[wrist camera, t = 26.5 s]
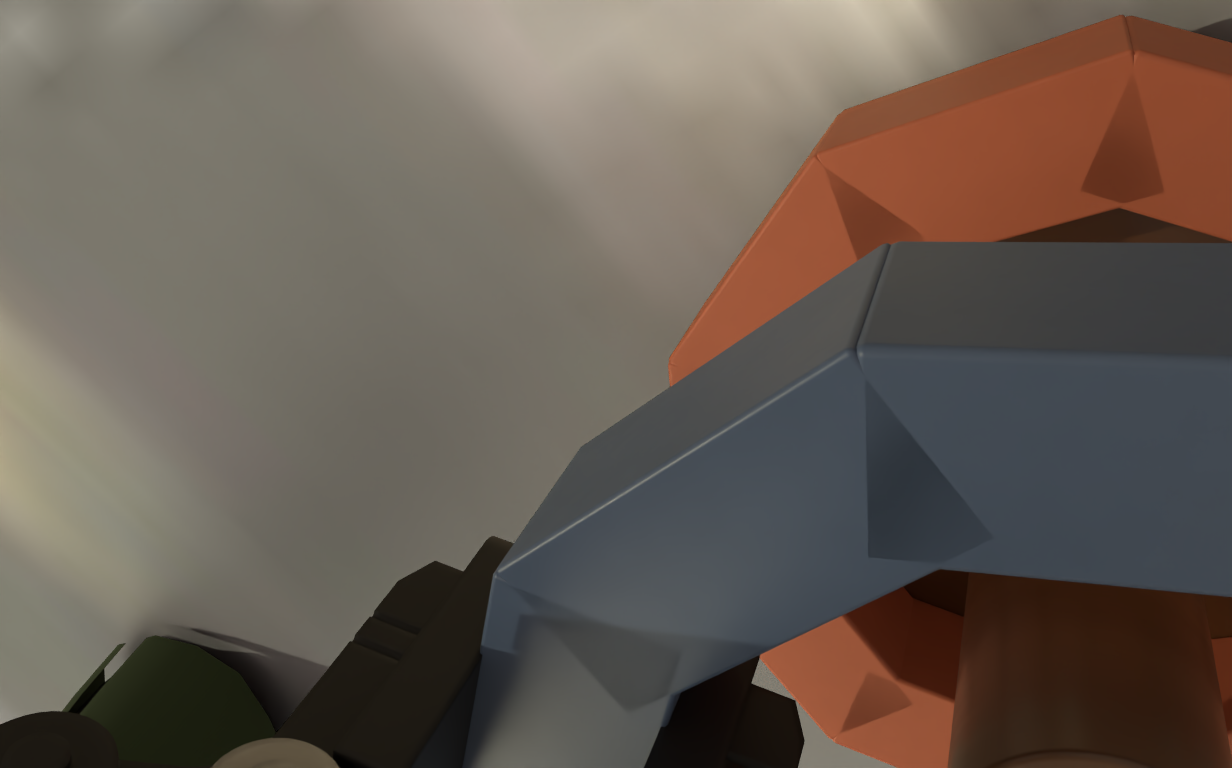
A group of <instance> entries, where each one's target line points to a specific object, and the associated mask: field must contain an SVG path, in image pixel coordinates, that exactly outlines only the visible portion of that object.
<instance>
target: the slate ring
mask: <svg viewBox="0 0 1232 768" xmlns="http://www.w3.org/2000/svg"><path fill="white" fill-rule="evenodd" d="M939 569H944V570H954V571H964V572H975V573H985V574H996V575H1006V576H1016V577H1027V578H1037V579H1047V580H1058V581H1068V582H1079V583H1089V584H1099V585H1110V586H1120V587H1130V588H1141V589H1151V590H1162V591H1172V592H1182V593H1193V594H1203V595H1213V596H1224V597H1232V243H1095V242H905V241H899V242H896V243H894V244H891V245H890V244H889V243H886V244H882V245H880V246H879V247H877V248H876V249H875V250H873V251H872V252H870V253H869V254H867V255H866V256H864V257H863V258H861V259H860V260H858V261H857V262H855V263H854V264H852V265H851V266H849V267H848V268H846V269H845V270H843V271H842V272H840V273H839V274H837V275H836V276H834V277H833V278H831V279H830V280H828V281H827V282H825V283H824V284H823V285H821V286H820V287H818V288H817V289H815V290H814V291H812V292H811V293H809V294H808V295H806V296H805V297H803V298H802V299H800V300H799V301H797V302H796V303H794V304H793V305H791V306H790V307H788V308H787V309H785V310H784V311H782V312H781V313H779V314H778V315H776V316H775V317H773V318H772V319H771V320H769V321H768V322H766V323H765V324H763V325H762V326H760V327H759V328H757V329H756V330H754V331H753V332H751V333H750V334H748V335H747V336H745V337H744V338H742V339H741V340H739V341H738V342H736V343H735V344H733V345H732V346H730V347H729V348H727V349H726V350H724V351H723V352H722V353H720V354H719V355H717V356H716V357H714V358H713V359H711V360H710V361H708V362H707V363H705V364H704V365H702V366H701V367H699V368H698V369H696V370H695V371H693V372H692V373H690V374H689V375H687V376H686V377H684V378H683V379H681V380H680V381H678V382H677V383H675V384H674V385H672V386H671V387H670V388H668V389H667V390H665V391H664V392H662V393H661V394H659V395H658V396H656V397H655V398H653V399H652V400H650V401H649V402H647V403H646V404H644V405H643V406H641V407H640V408H638V409H637V410H635V411H634V412H632V413H631V414H629V415H628V416H626V417H625V418H623V419H622V420H620V421H619V422H618V423H616V424H615V425H613V426H612V427H610V428H609V429H607V430H606V431H604V432H603V433H601V434H600V435H598V436H597V437H595V438H594V439H592V440H591V441H589V442H588V443H586V444H585V445H583V446H582V447H581V448H580V449H579V451H578V452H577V454H576V455H575V456H574V458H573V459H572V461H571V462H570V464H569V465H568V467H567V468H566V469H565V471H564V472H563V474H562V475H561V477H560V478H559V479H558V481H557V482H556V484H555V485H554V487H553V488H552V490H551V491H550V492H549V494H548V495H547V497H546V498H545V500H544V501H543V503H542V504H541V505H540V507H539V508H538V510H537V511H536V513H535V514H534V515H533V517H532V518H531V520H530V521H529V523H528V524H527V526H526V527H525V528H524V530H523V531H522V533H521V534H520V536H519V537H518V539H517V540H516V541H515V543H514V544H513V546H512V547H511V549H510V550H509V551H508V553H507V554H506V556H505V557H504V559H503V560H502V562H501V563H500V564H499V566H498V568H497V569H496V570H495V572H494V573H493V578H492V584H491V590H490V595H489V601H488V607H487V612H486V618H485V624H484V630H483V635H482V641H481V647H480V654H482V660H481V665H480V671H479V676H478V682H477V688H476V693H475V699H474V704H473V710H472V716H471V721H470V727H469V732H468V738H467V744H466V749H465V755H464V760H463V766H462V768H644V767H645V764H646V762H647V759H648V757H649V754H650V752H651V749H652V747H653V745H654V742H655V740H656V737H657V735H658V732H659V730H660V728H661V727H665V726H667V725H668V723H669V721H670V718H671V716H672V713H673V711H674V708H675V706H676V704H677V701H678V699H679V696H680V694H681V692H683V691H685V690H687V689H689V688H691V687H694V686H696V685H698V684H700V683H702V682H704V681H706V680H708V679H710V678H712V677H715V676H717V675H719V674H721V673H723V672H725V671H727V670H729V669H731V668H733V667H735V666H738V665H740V664H742V663H744V662H746V661H748V660H750V659H752V658H754V657H756V656H759V655H761V654H763V653H765V652H767V651H769V650H771V649H773V648H775V647H777V646H779V645H782V644H784V643H786V642H788V641H790V640H792V639H794V638H796V637H798V636H800V635H803V634H805V633H807V632H809V631H811V630H813V629H815V628H817V627H819V626H821V625H823V624H826V623H828V622H830V621H832V620H834V619H836V618H838V617H840V616H842V615H844V614H847V613H849V612H851V611H853V610H855V609H857V608H859V607H861V606H863V605H865V604H867V603H870V602H872V601H874V600H876V599H878V598H880V597H882V596H884V595H886V594H888V593H891V592H893V591H895V590H897V589H899V588H901V587H903V586H905V585H907V584H909V583H911V582H914V581H916V580H918V579H920V578H922V577H924V576H926V575H928V574H930V573H932V572H935V571H937V570H939Z"/></svg>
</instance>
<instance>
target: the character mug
mask: <svg viewBox="0 0 1232 768" xmlns="http://www.w3.org/2000/svg"><path fill="white" fill-rule="evenodd" d="M125 644H126V643H125ZM125 644H119V645H118V646H117V647H116V648H115V649H114V650H113V651H112V653H111V654H110V655H109V656H108V657H107V658H106V659H105V661H104V662H103V663H102V664H101V665H100V666H99V668H98V669H97V670H96V671H95V672H94V673H93V675H92V676H91V677H90V678H89V679H88V680H87V681H86V683H85V684H84V685H83V686H82V687H81V688H80V690H79V691H78V692H77V693H76V694H75V695H74V697H73V698H72V699H71V700H70V702H69V703H68V704H67V706H66V707H65V708H64V710H63V711H62V712H70V713H76V714H80V715H83V716H86V717H89V718H91V719H93V720H95V721H97V722H99V723H100V724H101V725H102V726H104V727H105V728H106V729H107V730H108V731H109V733H110V734H111V735H112V736H113V738H114V740H115V742H116V745H117V749H118V754H119V760H128V761H137V762H146V763H156V764H165V765H175V766H189V767H198V766H210V765H214V763H216V762H217V761H218V760H219V759H220V758H221V757H223V756H224V755H225V754H227V753H229V752H230V751H232V750H233V749H235V748H237V747H240V746H242V745H244V744H247V743H250V742H253V741H257V740H262V739H268V738H272V737H273V736H274V735H275V734H276V732H275V730H274V728H273V725H272V723H271V721H270V719H269V717H268V715H267V714H266V712H265V711H264V709H263V708H262V706H261V705H260V703H259V702H258V700H257V699H256V697H255V696H254V694H253V693H252V691H251V690H250V688H249V687H248V685H247V684H246V682H245V681H244V679H243V678H242V676H241V675H240V673H238V672H237V671H235V670H234V669H232V668H230V667H229V666H227V665H226V664H224V663H223V662H221V661H219V660H218V659H216V658H215V657H213V656H212V655H210V654H209V653H207V652H205V651H204V650H202V649H201V648H199V647H198V646H195V645H191V644H188V643H184V642H180V641H176V640H172V639H168V638H164V637H160V636H156V635H155V636H152V637H148V638H146V639H145V640H144V641H143V643H142V644H141V645H140V646H139V647H138V648H137V649H136V650H135V651H134V653H133V654H132V655H131V656H130V657H129V658H128V659H127V660H126V661H125V662H124V664H123V665H122V666H121V667H120V668H119V669H118V670H117V671H116V672H115V674H114V675H113V676H112V677H111V678H110V679H108V680H107V681H106V682H105V676H104V668H105V667H106V666H107V664H108V663H109V662H110V661H111V660H112V659H113V657H114V656H115V655H116V654H117V653H118V652H119V651H120V649H121V648H122V647H123V646H124V645H125Z"/></svg>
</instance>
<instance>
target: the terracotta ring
mask: <svg viewBox="0 0 1232 768" xmlns="http://www.w3.org/2000/svg"><path fill="white" fill-rule="evenodd" d="M1117 208H1122V209H1125V210H1128V211H1132V212H1135V213H1138V214H1142V215H1145V216H1148V217H1152V218H1155V219H1158V220H1162V221H1165V222H1168V223H1171V224H1175V225H1178V226H1181V227H1185V228H1188V229H1191V230H1195V231H1198V232H1201V233H1205V234H1208V235H1211V236H1215V237H1218V238H1221V239H1225V240H1228V241H1231V242H1232V43H1231V42H1227V41H1223V40H1219V39H1216V38H1212V37H1208V36H1205V35H1201V34H1197V33H1194V32H1190V31H1186V30H1183V29H1179V28H1175V27H1171V26H1168V25H1164V24H1160V23H1157V22H1153V21H1149V20H1146V19H1142V18H1138V17H1134V16H1126V17H1125V16H1124V15H1119V16H1116V17H1113V18H1110V19H1107V20H1104V21H1101V22H1098V23H1095V24H1093V25H1090V26H1087V27H1084V28H1081V29H1078V30H1075V31H1072V32H1069V33H1066V34H1063V35H1061V36H1058V37H1055V38H1052V39H1049V40H1046V41H1043V42H1040V43H1037V44H1034V45H1031V46H1029V47H1026V48H1023V49H1020V50H1017V51H1014V52H1011V53H1008V54H1005V55H1002V56H1000V57H997V58H994V59H991V60H988V61H985V62H982V63H979V64H976V65H973V66H970V67H968V68H965V69H962V70H959V71H956V72H953V73H950V74H947V75H944V76H941V77H939V78H936V79H933V80H930V81H927V82H924V83H921V84H918V85H915V86H912V87H909V88H907V89H904V90H901V91H898V92H895V93H892V94H889V95H886V96H883V97H880V98H878V99H875V100H872V101H869V102H866V103H863V104H860V105H857V106H854V107H851V108H848V109H846V110H844V111H843V112H842V113H840V114H839V115H837V117H836V118H835V120H834V121H833V123H832V124H831V125H830V127H829V128H828V130H827V131H826V132H825V134H824V135H823V137H822V138H821V139H820V141H819V142H818V144H817V145H816V147H815V148H814V149H813V151H812V152H811V154H810V155H809V156H808V158H807V159H806V161H805V162H804V163H803V165H802V166H801V168H800V169H799V171H798V172H797V173H796V175H795V176H794V178H793V179H792V180H791V182H790V183H789V185H788V186H787V187H786V189H785V190H784V192H783V193H782V195H781V196H780V197H779V199H778V200H777V202H776V203H775V204H774V206H773V207H772V209H771V210H770V212H769V213H768V214H767V216H766V217H765V219H764V220H763V221H762V223H761V224H760V226H759V227H758V228H757V230H756V231H755V233H754V234H753V236H752V237H751V238H750V240H749V241H748V243H747V244H746V245H745V247H744V248H743V250H742V251H741V252H740V254H739V255H738V257H737V258H736V260H735V261H734V262H733V264H732V265H731V267H730V268H729V269H728V271H727V272H726V274H725V275H724V277H723V278H722V279H721V281H720V282H719V284H718V285H717V286H716V288H715V289H714V291H713V292H712V293H711V295H710V296H709V298H708V299H707V301H706V302H705V303H704V305H703V307H702V308H701V310H700V311H699V313H698V314H697V316H696V317H695V319H694V320H693V322H692V324H691V325H690V327H689V328H688V330H687V331H686V333H685V334H684V336H683V338H682V339H681V341H680V342H679V344H678V345H677V347H676V348H675V350H674V351H673V353H672V355H671V356H670V359H669V364H668V369H669V380H670V387H671V386H672V385H674V384H675V383H677V382H678V381H680V380H681V379H683V378H684V377H686V376H687V375H689V374H690V373H692V372H693V371H695V370H696V369H698V368H699V367H701V366H702V365H704V364H705V363H707V362H708V361H710V360H711V359H713V358H714V357H716V356H717V355H719V354H720V353H722V352H723V351H724V350H726V349H727V348H729V347H730V346H732V345H733V344H735V343H736V342H738V341H739V340H741V339H742V338H744V337H745V336H747V335H748V334H750V333H751V332H753V331H754V330H756V329H757V328H759V327H760V326H762V325H763V324H765V323H766V322H768V321H769V320H771V319H772V318H773V317H775V316H776V315H778V314H779V313H781V312H782V311H784V310H785V309H787V308H788V307H790V306H791V305H793V304H794V303H796V302H797V301H799V300H800V299H802V298H803V297H805V296H806V295H808V294H809V293H811V292H812V291H814V290H815V289H817V288H818V287H820V286H821V285H823V284H824V283H825V282H827V281H828V280H830V279H831V278H833V277H834V276H836V275H837V274H839V273H840V272H842V271H843V270H845V269H846V268H848V267H849V266H851V265H852V264H854V263H855V262H857V261H858V260H860V259H861V258H863V257H864V256H866V255H867V254H869V253H870V252H872V251H873V250H875V249H876V248H877V247H879V246H880V245H882V244H886V243H889V244H890V245H891V244H894V243H896V242H899V241H905V242H996V241H1000V240H1004V239H1007V238H1011V237H1015V236H1018V235H1022V234H1026V233H1029V232H1033V231H1037V230H1040V229H1044V228H1048V227H1051V226H1055V225H1059V224H1062V223H1066V222H1070V221H1073V220H1077V219H1081V218H1084V217H1088V216H1092V215H1095V214H1099V213H1103V212H1106V211H1110V210H1114V209H1117ZM963 621H964V617H963V616H960V615H957V614H955V613H952V612H949V611H947V610H944V609H941V608H938V607H936V606H933V605H930V604H928V603H925V602H922V601H920V600H917V599H914V598H912V597H911V595H910V594H909V593H908V592H907V591H906V589H905V588H904V587H901V588H899V589H897V590H895V591H893V592H891V593H888V594H886V595H884V596H882V597H880V598H878V599H876V600H874V601H872V602H870V603H867V604H865V605H863V606H861V607H859V608H857V609H855V610H853V611H851V612H849V613H847V614H844V615H842V616H840V617H838V618H836V619H834V620H832V621H830V622H828V623H826V624H823V625H821V626H819V627H817V628H815V629H813V630H811V631H809V632H807V633H805V634H803V635H800V636H798V637H796V638H794V639H792V640H790V641H788V642H786V643H784V644H782V645H779V646H777V647H775V648H773V649H771V650H769V651H767V652H765V653H763V654H761V655H760V659H761V660H762V661H763V662H764V663H765V665H766V666H767V667H768V668H769V669H770V670H771V672H772V673H773V674H774V675H775V676H776V677H777V678H778V680H779V681H780V682H781V683H782V684H783V685H784V687H785V688H786V689H787V690H788V691H789V692H790V694H791V695H792V696H793V697H794V698H795V699H796V700H797V702H798V703H799V704H800V705H801V706H802V707H803V709H804V710H805V711H806V712H807V713H808V714H809V716H810V717H811V718H812V719H813V720H814V721H815V722H816V724H817V725H818V726H819V727H820V728H821V729H822V731H823V732H824V733H825V734H826V735H827V736H828V737H829V738H830V739H833V741H834V742H835V743H837V744H840V745H842V746H845V747H847V748H850V749H852V750H855V751H857V752H860V753H862V754H865V755H867V756H870V757H872V758H875V759H877V760H880V761H882V762H885V763H887V764H890V765H892V766H895V767H897V768H947V767H948V758H949V749H950V740H951V731H952V722H953V712H954V703H955V694H956V685H957V676H958V667H959V658H960V649H961V640H962V631H963ZM1211 641H1212V647H1213V652H1214V658H1215V664H1216V670H1217V676H1218V681H1219V687H1220V693H1221V699H1222V705H1223V710H1224V716H1225V722H1226V728H1227V734H1228V739H1229V745H1230V751H1231V757H1232V637H1224V638H1215V639H1211Z"/></svg>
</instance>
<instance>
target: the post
mask: <svg viewBox="0 0 1232 768" xmlns="http://www.w3.org/2000/svg"><path fill="white" fill-rule="evenodd" d="M996 242H1095V243H1232V242H1231V241H1228V240H1225V239H1221V238H1218V237H1215V236H1211V235H1208V234H1205V233H1201V232H1198V231H1195V230H1191V229H1188V228H1185V227H1181V226H1178V225H1175V224H1171V223H1168V222H1165V221H1162V220H1158V219H1155V218H1152V217H1148V216H1145V215H1142V214H1138V213H1135V212H1132V211H1128V210H1125V209H1122V208H1117V209H1114V210H1110V211H1106V212H1103V213H1099V214H1095V215H1092V216H1088V217H1084V218H1081V219H1077V220H1073V221H1070V222H1066V223H1062V224H1059V225H1055V226H1051V227H1048V228H1044V229H1040V230H1037V231H1033V232H1029V233H1026V234H1022V235H1018V236H1015V237H1011V238H1007V239H1004V240H1000V241H996ZM903 587H904V588H905V589H906V591H907V592H908V593H909V594H910V595H911V597H912V598H914V599H917V600H920V601H922V602H925V603H928V604H930V605H933V606H936V607H938V608H941V609H944V610H947V611H949V612H952V613H955V614H957V615H960V616H963V617H964V621H963V631H962V640H961V649H960V658H959V667H958V676H957V685H956V694H955V703H954V712H953V722H952V731H951V740H950V749H949V758H948V767H947V768H1232V757H1231V751H1230V745H1229V739H1228V734H1227V728H1226V722H1225V716H1224V710H1223V705H1222V699H1221V693H1220V687H1219V681H1218V676H1217V670H1216V664H1215V658H1214V652H1213V647H1212V641H1211V639H1215V638H1224V637H1232V597H1224V596H1213V595H1203V594H1193V593H1182V592H1172V591H1162V590H1151V589H1141V588H1130V587H1120V586H1110V585H1099V584H1089V583H1079V582H1068V581H1058V580H1047V579H1037V578H1027V577H1016V576H1006V575H996V574H985V573H975V572H964V571H954V570H944V569H939V570H937V571H935V572H932V573H930V574H928V575H926V576H924V577H922V578H920V579H918V580H916V581H914V582H911V583H909V584H907V585H905V586H903Z"/></svg>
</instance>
